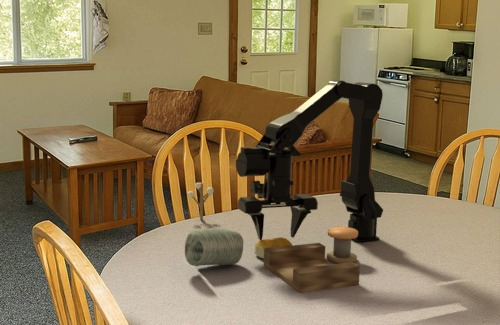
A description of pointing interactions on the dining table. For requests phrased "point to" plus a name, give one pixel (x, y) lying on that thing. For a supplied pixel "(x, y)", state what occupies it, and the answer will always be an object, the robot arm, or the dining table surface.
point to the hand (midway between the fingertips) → (276, 238)
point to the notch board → (309, 268)
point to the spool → (213, 247)
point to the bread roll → (270, 245)
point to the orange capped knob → (342, 245)
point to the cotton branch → (201, 196)
